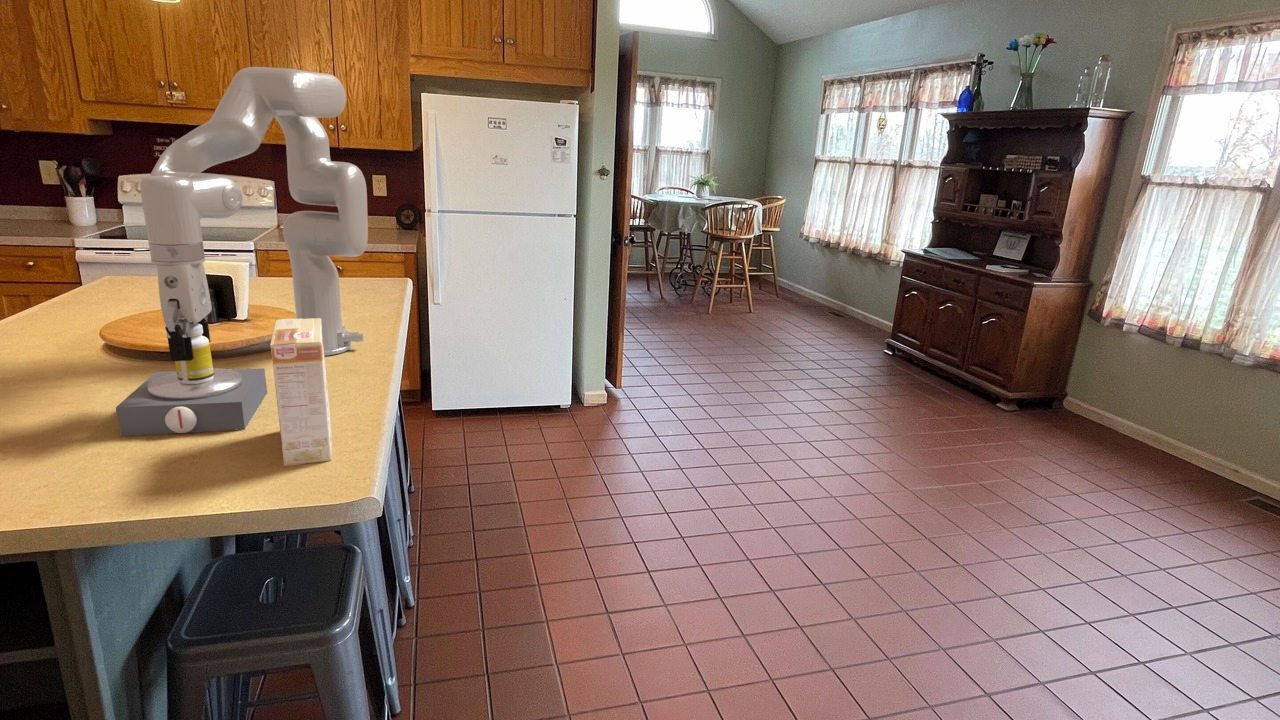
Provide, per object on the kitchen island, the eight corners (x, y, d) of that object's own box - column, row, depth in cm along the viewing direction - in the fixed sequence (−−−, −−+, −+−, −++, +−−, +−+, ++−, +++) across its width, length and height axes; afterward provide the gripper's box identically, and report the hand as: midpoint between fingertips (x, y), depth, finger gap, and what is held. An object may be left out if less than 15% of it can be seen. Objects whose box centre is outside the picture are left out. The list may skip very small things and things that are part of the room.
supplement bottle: (221, 376, 125) (214, 323, 122) (200, 386, 120) (192, 331, 117) (192, 373, 125) (185, 321, 122) (170, 383, 120) (161, 328, 117)
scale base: (267, 392, 135) (264, 368, 133) (243, 431, 117) (240, 404, 116) (159, 397, 130) (155, 371, 128) (118, 438, 112) (113, 409, 111)
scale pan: (250, 372, 131) (249, 367, 130) (231, 398, 118) (230, 392, 118) (164, 375, 127) (163, 369, 126) (135, 402, 114) (134, 396, 114)
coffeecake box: (286, 429, 119) (274, 318, 113) (331, 425, 122) (322, 316, 116) (281, 467, 106) (268, 344, 100) (332, 461, 109) (322, 341, 103)
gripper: (186, 262, 109) (201, 366, 114) (217, 245, 124) (229, 337, 129) (130, 261, 106) (148, 368, 112) (169, 244, 122) (183, 338, 127)
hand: (191, 351), depth 120 cm, fingers open, 9 cm apart
